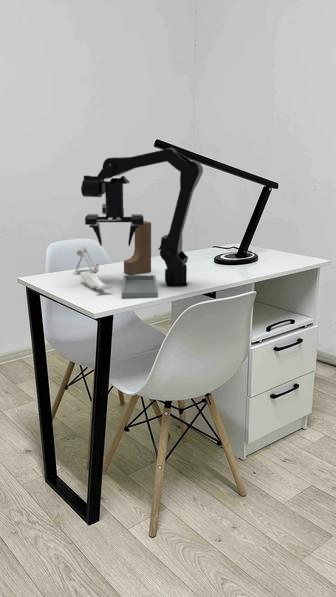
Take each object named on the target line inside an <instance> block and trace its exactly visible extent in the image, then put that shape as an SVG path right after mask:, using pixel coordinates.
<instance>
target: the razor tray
mask: <svg viewBox="0 0 336 597" xmlns="http://www.w3.org/2000/svg"><path fill="white" fill-rule="evenodd" d="M121 288H122V289H121V299H122V300H124V299H145V298H146V299H149V298H150V299H151V298H152V299H153V298H158V297H159V295H158V294H159V293H158V285H157V277H156V275H154V274H153V275H151V274H147V275H145V274H142V275H141V274H133V275H129V274H127V275H126V274H125V275H123V277H122V286H121Z"/></svg>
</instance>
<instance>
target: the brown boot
mask: <svg viewBox="0 0 336 597" xmlns="http://www.w3.org/2000/svg"><path fill="white" fill-rule="evenodd" d="M151 272H152V222H151V221H147V220H144V225H140V227H138V228H136V230H135V232H134V251H133V255H132V256H131V257H130V258H127V259H125V260H123V273H124V274H127V275H140V274H146V273H151ZM139 273H140V274H139Z"/></svg>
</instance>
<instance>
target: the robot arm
mask: <svg viewBox="0 0 336 597" xmlns="http://www.w3.org/2000/svg"><path fill="white" fill-rule="evenodd" d="M165 162H167V163H169V164H170V165H171V166H172V167H173V168H174V169H176V170H177V171H178V172H180V174H179V192H178V196H177V200H176V206H175V210H174V212H173V216H172V221H171V224H170V227H169V228H170V229H169V232H168V234H165V235H163V236H161V240H160V245H159V247H158V250H159V256H160V258H161V259H162V260H163V261H164V264H165V266H166V268H164V283H165V284H166V286H167V287H173V286H174V287H176V286H177V287H183V286H184V287H187V286H188V282H187V274H188V270H187V269H188V267H187V263H188V260H189V257H188V255H187V254H185V252H184V251H183V232H184V228H185V224H186V220H187V217H188V212H189V209H190V205H191V200H192V197H193V194H194V190H195V189H196V187H197V186H198V184H199V182H200V180H201V177H202V175H203V172H204V168H203V166H202V163H200V161H197V160H191V159H189V158H188V157H187V156H185V155H183V154H182V153H180V152H178V151H177V150H176V149H175V148H173V147H166V148H164V149H160V150H155V151H152V152H147V153H143V154H138V155H134V156H124V157H121V156H120V157H107V158H106V159H104V161H103V163H102V168H101V170H100V171H99V173H98V174H97V175H96V176H95V175H90V174H89V175H83V179H82V182H81V185H80V191H81V192H80V193H81V194H82V196H83V197H85V198H102V197H103V195H105V199H104V200H105V203H102V205H101V208H102V209H101V212H102V215H105V216H99V214H97V213H93V214H92V213H88V214H86V215H85V217H84V224H85V225H86V226H87V225H89V228H92V229H93V231H94V234H95V235H96V239H97V242H98V243H99V246H100V247H103V245H102V243H103V240H102V235H101V234H102V233H101V226H100V223H130V228H129V235H128V243H127V244H128V247H130V246H131V244H132V240H133V236H134V235H135V230H136V228H138V227H140V225H144V221H145V220H144V214H142V213H141V214H139V213H137V214H135V213H133V214H132V213H131V216H125V212H124V211H125V208H124V185H127V184H130V180H128V178H126V176H125V175H124V174H126V173H128V172H131V171H133V170H135V169H139V168H143V167H147V166H152V165H156V164H157V165H158V164H161V163H165ZM121 175H122V176H121ZM118 176H121V177H120V178H119V177H118ZM107 179H108V180H107ZM109 179H110V180H109ZM85 225H84V226H85Z"/></svg>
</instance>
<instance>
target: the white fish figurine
mask: <svg viewBox="0 0 336 597" xmlns="http://www.w3.org/2000/svg"><path fill="white" fill-rule="evenodd" d="M80 276H81V278H82V279H83V281H84V283H85V284H86V286H88V287H89V288H90V289H92V290H95V289H96V290H108V289H109V290H110V289H113V288H114V286H112V285H109V284H105V283H103V282H102V281H101V280H100V278H99V277H97V276H96V275H95V274H94V273H92V272H91V271H81V272H80Z"/></svg>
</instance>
